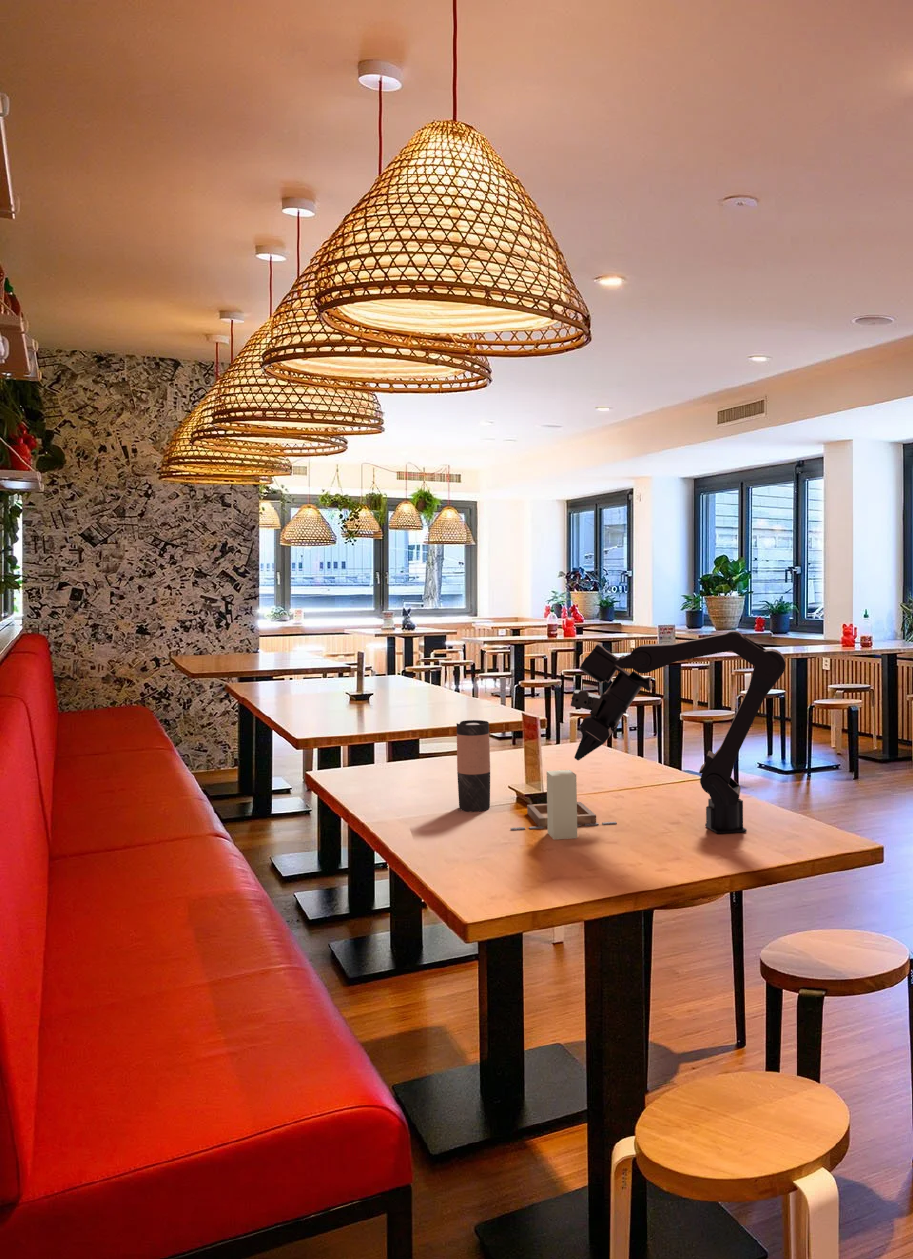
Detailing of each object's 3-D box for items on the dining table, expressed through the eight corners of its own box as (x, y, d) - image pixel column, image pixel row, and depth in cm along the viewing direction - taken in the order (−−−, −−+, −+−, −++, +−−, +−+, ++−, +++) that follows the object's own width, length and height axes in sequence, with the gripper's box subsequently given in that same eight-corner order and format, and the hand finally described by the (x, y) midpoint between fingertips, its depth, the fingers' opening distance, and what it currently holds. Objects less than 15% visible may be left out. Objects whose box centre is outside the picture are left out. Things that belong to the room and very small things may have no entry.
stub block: (571, 831, 196) (570, 769, 195) (577, 838, 191) (576, 774, 190) (547, 833, 195) (546, 771, 195) (553, 839, 191) (552, 776, 190)
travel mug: (496, 809, 216) (494, 723, 215) (465, 813, 213) (463, 726, 212) (483, 802, 223) (481, 719, 222) (453, 806, 220) (451, 721, 219)
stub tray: (580, 810, 214) (580, 801, 213) (596, 824, 201) (596, 815, 201) (527, 813, 212) (527, 804, 212) (539, 827, 200) (539, 818, 200)
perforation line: (615, 823, 202) (615, 821, 202) (616, 824, 201) (616, 822, 201) (510, 829, 199) (510, 827, 199) (511, 830, 198) (511, 828, 198)
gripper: (593, 671, 211) (556, 727, 214) (580, 679, 193) (540, 741, 196) (636, 699, 209) (597, 755, 212) (626, 710, 191) (584, 772, 194)
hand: (579, 755), depth 203 cm, fingers open, 9 cm apart
